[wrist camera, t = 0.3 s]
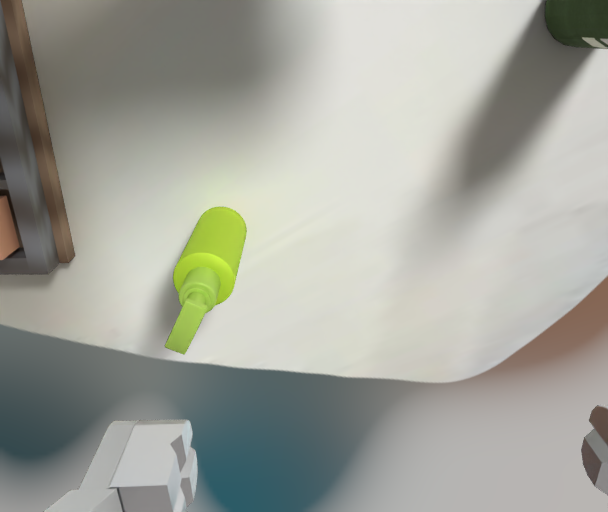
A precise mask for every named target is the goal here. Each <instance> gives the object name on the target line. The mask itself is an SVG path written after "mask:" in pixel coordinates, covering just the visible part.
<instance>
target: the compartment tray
mask: <svg viewBox="0 0 608 512" xmlns="http://www.w3.org/2000/svg"><path fill="white" fill-rule="evenodd" d="M0 196H7V200H8V204H9V207H10V211H11V215H12V219H13V223H14V227H15V230H16V234H17V238H18V242H19V246H20V247H19V248H17V249H16V250H15V251H14V252H12V253H11V254H10V255H8V256H7V257H6V258H5V259H3V260H0V274H49V273H50V272H51V271H52V270H53V269H54V268H55V267H56V266H57V265H58V264H59V263H69V262H70V261H71V260H72V259H73V257H74V256H75V253H74V248H73V243H72V238H71V234H70V229H69V224H68V219H67V215H66V210H65V205H64V200H63V196H62V191H61V186H60V181H59V177H58V172H57V167H56V162H55V158H54V153H53V148H52V143H51V139H50V134H49V129H48V124H47V119H46V115H45V110H44V105H43V100H42V96H41V91H40V86H39V81H38V77H37V72H36V67H35V62H34V58H33V53H32V48H31V43H30V39H29V34H28V29H27V24H26V20H25V15H24V10H23V5H22V1H21V0H0Z"/></svg>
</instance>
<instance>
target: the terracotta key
mask: <svg viewBox="0 0 608 512" xmlns="http://www.w3.org/2000/svg"><path fill="white" fill-rule="evenodd" d="M19 247H20V246H19V242H18V238H17V234H16V230H15V227H14V223H13V219H12V215H11V211H10V207H9V204H8V200H7V196H0V260H3V259H5V258H6V257H7V256H8V255H10V254H11V253H12V252H14V251H15V250H16V249H17V248H19Z"/></svg>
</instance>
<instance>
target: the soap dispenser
mask: <svg viewBox="0 0 608 512" xmlns="http://www.w3.org/2000/svg"><path fill="white" fill-rule="evenodd" d="M246 232H247V230H246V224H245V222H244V220H243V218H242V217H241V216H240V215H239V214H238V213H237V212H236V211H234V210H232V209H230V208H227V207H215V208H211V209H209V210H207V211H206V212H205V213H204V214H203V215H202V216H201V217H200V219H199V221H198V223H197V225H196V227H195V229H194V231H193V233H192V235H191V237H190V239H189V241H188V243H187V245H186V247H185V249H184V251H183V253H182V255H181V257H180V259H179V261H178V263H177V265H176V267H175V270H174V274H173V281H174V285H175V288H176V290H177V291H178V293H179V302H180V304H181V306H182V309H181V312H180V314H179V316H178V318H177V320H176V322H175V325H174V327H173V329H172V331H171V333H170V336H169V338H168V340H167V342H166V344H165V347H166V348H168V349H171V350H173V351H176V352H179V353H181V354H185V353H186V351H187V349H188V347H189V345H190V343H191V341H192V339H193V337H194V335H195V333H196V331H197V329H198V327H199V325H200V323H201V321H202V319H203V317H204V315H205V313H207V312H209V311H210V310H212V309H213V307H214V306H215V305H217V304H220V303H222V302H223V301H225V300H226V299H227V298H228V297H229V296H230V294H231V293H232V291H233V288H234V284H235V280H236V276H237V272H238V267H239V263H240V259H241V255H242V250H243V246H244V242H245V238H246Z"/></svg>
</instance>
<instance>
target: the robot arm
mask: <svg viewBox="0 0 608 512" xmlns="http://www.w3.org/2000/svg"><path fill="white" fill-rule="evenodd" d="M589 421H590V423H591V424H592V426H593V428H594V429H593V430H592V431H591V432H590V433H589V434H588V435H586V436H585V437H584V440H583V445H582V449H581V452H582V460H583V465H584V468H585V470H586V472H587V475H588V477H589V478H590V480H591V481H592V483H593V484H594V486H595V487H596V488H598V489H599V490H601V491H603V492H604V493H605V494H607V495H608V405H597V406H596V407H595V408H594V409H593V410H592V412H591V415H590V419H589ZM192 436H193V433H192V429H191V423H190V421H188V420H139V421H114V422H112V424H110V425H109V426H108V428H107V430H106V432H105V434H104V436H103V439H102V441H101V443H100V445H99V447H98V449H97V451H96V453H95V455H94V457H93V459H92V461H91V464H90V466H89V468H88V470H87V472H86V474H85V476H84V478H83V480H82V482H81V485H80V487H79V489H78V490H70V491H68V492H67V493H66V494H65V495H63V496H62V497H61V498H60V499H59V500H57V501H56V502H55V503H53V504H52V505H51V506H50V507H48V508H47V509H46V510H45V511H43V512H187V507H188V506H189V505H190V504H191V503H192V502H193V500H194V495H195V491H196V483H197V457H196V451H195V450H194V449H193V448H192V447H190V444H191V440H192Z"/></svg>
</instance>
